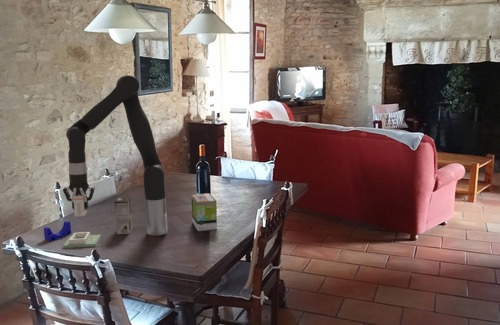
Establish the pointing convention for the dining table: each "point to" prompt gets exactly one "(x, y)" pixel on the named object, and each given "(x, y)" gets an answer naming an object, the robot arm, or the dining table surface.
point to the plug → (79, 205)
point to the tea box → (204, 212)
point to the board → (82, 240)
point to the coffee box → (123, 215)
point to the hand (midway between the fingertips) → (80, 209)
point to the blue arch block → (64, 231)
